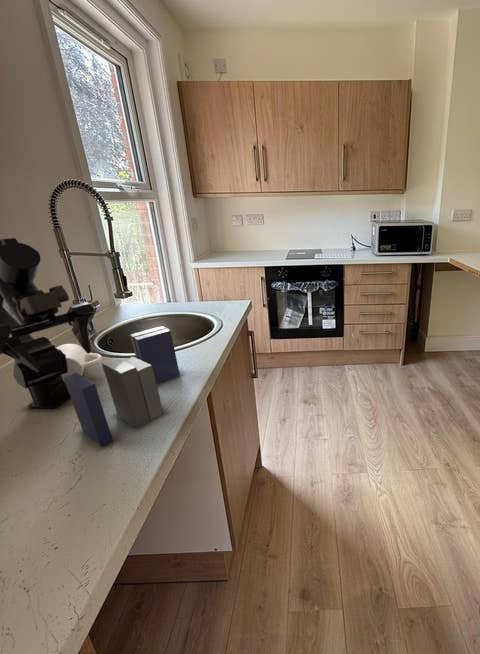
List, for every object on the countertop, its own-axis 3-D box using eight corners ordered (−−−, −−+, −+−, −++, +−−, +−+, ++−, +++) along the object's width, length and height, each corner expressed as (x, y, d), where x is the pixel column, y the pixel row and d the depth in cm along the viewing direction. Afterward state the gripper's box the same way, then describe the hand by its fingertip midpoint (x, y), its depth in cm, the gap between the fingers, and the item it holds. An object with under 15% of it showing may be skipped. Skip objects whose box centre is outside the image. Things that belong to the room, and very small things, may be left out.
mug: (49, 390, 87) (39, 361, 84) (57, 373, 95) (47, 346, 92) (104, 378, 92) (96, 351, 89) (107, 363, 100) (99, 337, 97)
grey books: (117, 415, 76) (101, 363, 71) (144, 402, 81) (131, 352, 76) (136, 428, 72) (121, 373, 67) (164, 413, 77) (151, 361, 72)
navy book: (83, 432, 71) (63, 377, 66) (94, 426, 73) (76, 372, 68) (101, 447, 67) (81, 389, 62) (113, 440, 69) (95, 383, 64)
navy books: (149, 387, 87) (137, 340, 82) (141, 380, 91) (129, 334, 86) (180, 375, 92) (170, 330, 87) (172, 369, 96) (162, 325, 91)
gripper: (-39, 286, 57) (14, 366, 57) (81, 265, 72) (123, 329, 72) (-41, 316, 64) (7, 388, 64) (69, 291, 79) (108, 349, 79)
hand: (65, 361), depth 70 cm, fingers open, 9 cm apart
